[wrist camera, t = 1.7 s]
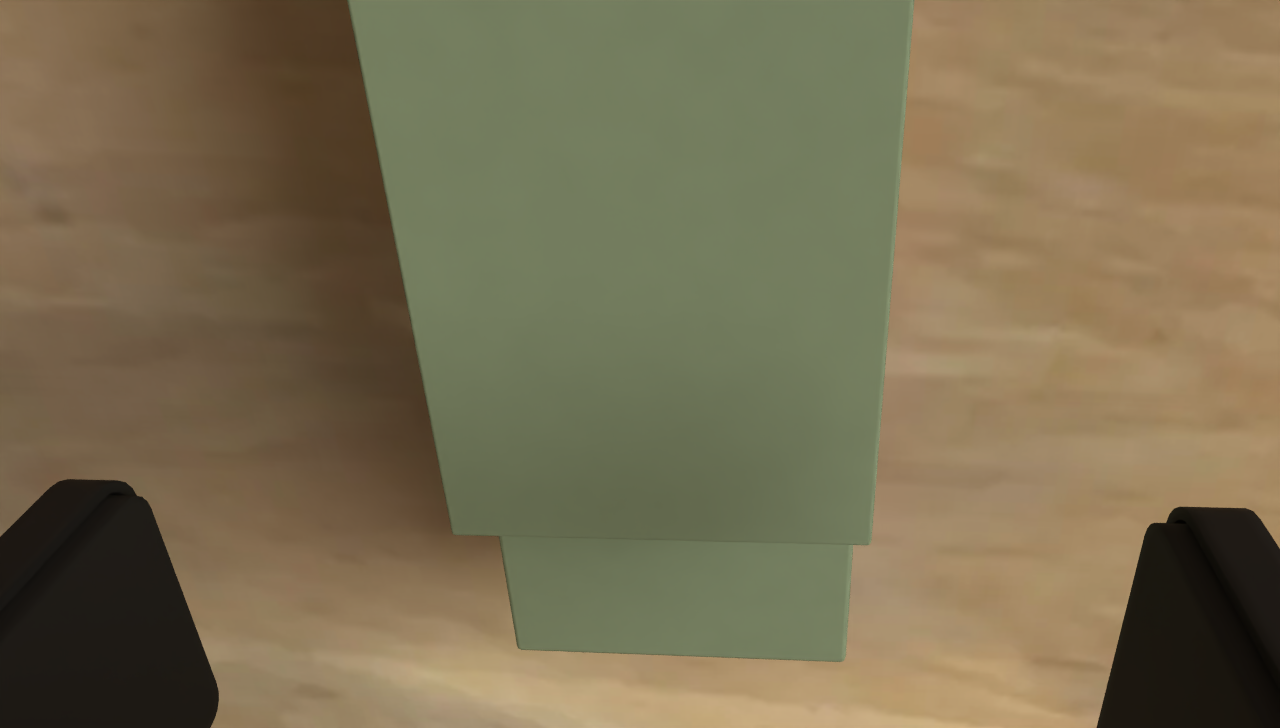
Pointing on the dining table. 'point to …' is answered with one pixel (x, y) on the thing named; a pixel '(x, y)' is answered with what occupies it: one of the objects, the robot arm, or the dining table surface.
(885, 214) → the green block on base
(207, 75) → the dining table surface
